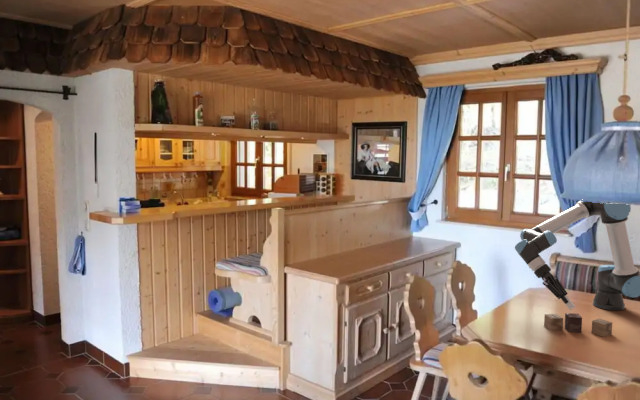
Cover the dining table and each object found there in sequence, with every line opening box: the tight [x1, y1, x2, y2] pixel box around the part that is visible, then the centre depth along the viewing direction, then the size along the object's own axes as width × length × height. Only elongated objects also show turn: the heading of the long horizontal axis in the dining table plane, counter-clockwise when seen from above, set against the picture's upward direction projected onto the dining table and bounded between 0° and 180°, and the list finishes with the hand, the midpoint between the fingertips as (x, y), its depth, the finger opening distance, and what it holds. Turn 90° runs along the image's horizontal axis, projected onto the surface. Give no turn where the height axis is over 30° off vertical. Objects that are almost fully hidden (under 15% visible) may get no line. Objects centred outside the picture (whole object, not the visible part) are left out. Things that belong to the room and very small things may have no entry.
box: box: [564, 312, 583, 333], centre depth 235 cm, size 6×6×7 cm
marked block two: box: [543, 313, 564, 331], centre depth 238 cm, size 6×6×6 cm
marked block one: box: [591, 318, 613, 338], centre depth 231 cm, size 6×6×6 cm
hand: (572, 308), depth 235 cm, fingers closed
